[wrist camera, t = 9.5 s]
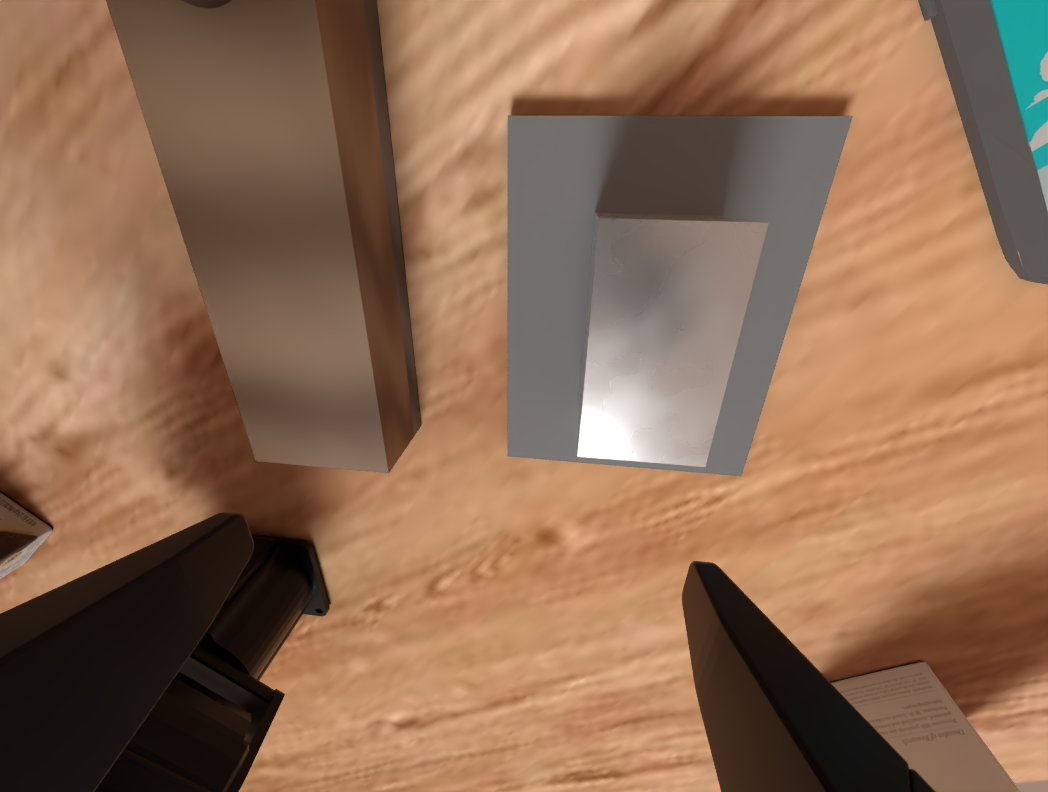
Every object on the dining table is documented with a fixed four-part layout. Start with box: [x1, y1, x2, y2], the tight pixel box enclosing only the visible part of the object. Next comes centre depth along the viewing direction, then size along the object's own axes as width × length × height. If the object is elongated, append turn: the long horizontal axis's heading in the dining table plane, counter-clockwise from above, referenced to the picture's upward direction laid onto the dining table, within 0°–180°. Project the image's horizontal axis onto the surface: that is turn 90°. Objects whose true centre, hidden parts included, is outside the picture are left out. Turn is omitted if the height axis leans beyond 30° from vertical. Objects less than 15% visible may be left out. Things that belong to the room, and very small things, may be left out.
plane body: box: [106, 0, 421, 473], centre depth 14 cm, size 18×6×6 cm, turn 179°
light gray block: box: [578, 212, 769, 467], centre depth 15 cm, size 8×4×4 cm, turn 179°
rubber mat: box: [508, 116, 853, 476], centre depth 17 cm, size 14×11×1 cm
